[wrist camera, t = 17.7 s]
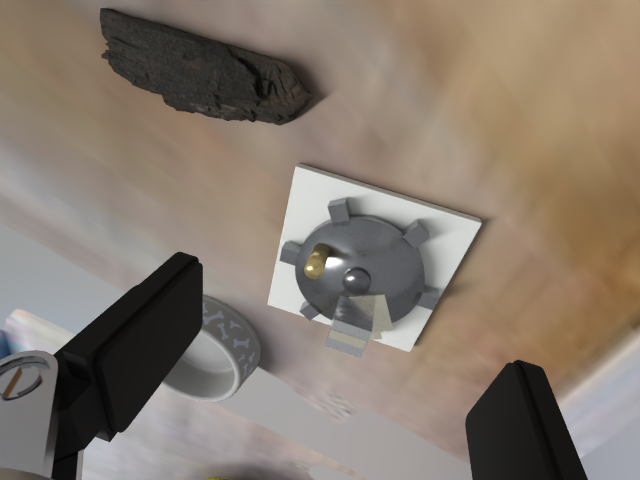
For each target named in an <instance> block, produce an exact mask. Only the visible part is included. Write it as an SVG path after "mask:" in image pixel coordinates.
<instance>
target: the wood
mask: <svg viewBox="0 0 640 480" xmlns="http://www.w3.org/2000/svg"><path fill="white" fill-rule="evenodd" d="M100 22H101V29H102V35H103V36H104V38H105V39H106V40H107V41H108V43H106V45H107V46H108V47H109V49H110V50H105V53H103V54H101V55H102V58H105V59H107V60H108V61H109V65H110V66H111V67H112V69H113V70H114V72H116V73H117V74H119V75H121V76H122V77H124V78H125V79H127V80H128V81H130V82H131V83H132V85H134V86H136V87H139V88H141V89H144V90H147V91H150V92H152V93H156V94H161V95H162V97H163V99H164V102H165V103H166V104H167V105H169V106H171V107H173V108H175V109H176V111H187V112H190V113H194V112H197V113H201V114H203V115H206V116H208V117H214V118H220V119H221V118H222V119H224V120H227V121H230V120H240V121H242V120H244V119H247V120H249V121H251V122H254V121H255V120H258V121H262V122H267V123H274V124H276V125H282V124H285V123H288V122H290V121H292V120H293V119H295V118H296V117H297V115H298V114H300V111H301V110H302V109H303V108H304V107H305V106H306V104H307V103H308V102H309V100H311V99H312V98H313V97H312V96H311V94H310V93H309V91H306V90H305V89H304V88H302V85H301V82H300V81H299V80H298V79H297V78H296V75H295V74H294V72H293V70H292V69H291V68H290V67H289V66H287V65H286V64H284V63H282V62H280V61H277V60H274V59H271V58H270V57H267V56H263V55H260V54H256V53H252V52H248V51H246V50H244V49H239V48H236V47H233V46H231V45H226V44H223V43H220V42H214V41H211V40H210V39H203V38H201V37H198V36H195V35H191V34H189V33H187V32H183V31H181V30H177V29H172V28H170V27H168V26H165V25H159V24H157V23H154V22H151V21H147V20H142V19H136V18H133V17H130V16H127V15H124V14H120V13H118V12H116V11H114V10H112V9H108V8H101V10H100Z"/></svg>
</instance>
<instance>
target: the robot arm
mask: <svg viewBox="0 0 640 480" xmlns="http://www.w3.org/2000/svg"><path fill="white" fill-rule="evenodd" d="M202 323H203V266H202V264H201V263H199V260H198V258H197V257H195V256H192V255H189V254H186V253H183V252H177V253H175V254H174V255H173V256H172V257H171V258H170V259H168V260H167V261H166V262H165V263H164V264H163V265H161V266H160V267H159V268H158V269H157V270H156V271H154V272H153V273H152V274H151V275H150V276H149V277H147V278H146V279H145V280H144V281H143V282H142V283H140V284H139V285H136V286H135V287H133V288H132V289H130V290H129V291H128V292H127V293H126V294H124V295H123V296H122V297H121V298H120V299H119V300H117V301H116V302H115V303H114V304H113V305H111V306H110V307H109V308H108V309H107V310H106V311H104V312H103V313H102V314H101V315H100V316H98V317H97V318H96V319H95V320H94V321H93V322H91V323H90V324H89V325H88V326H87V327H86V328H84V329H83V330H82V331H81V332H80V333H78V334H77V335H76V336H75V337H74V338H73V339H71V340H70V341H69V342H68V343H67V344H65V345H64V346H63V347H62V348H61V349H60V350H58V351H57V352H56V353H55V354H54V355H52V354H50V353H48V352H45V351H37V350H34V351H24V352H20V353H17V354H13V355H10V356H8V357H6V358H4V359H2V360H0V480H82V467H83V453H84V449H85V448H86V447H87V446H88V444H89V443H90V442H91V441H92V440H93V438H94V437H97V438H100V439H103V440H105V441H108V442H110V441H111V440H112V439H113V437H114V436H115V435H116V434H117V432H119V433H121V432H123V431H125V430H126V429H127V428H128V426H129V425H130V424H131V422H132V421H133V420H134V419H135V417H136V416H137V415H138V413H139V412H140V411H141V409H142V408H143V407H144V405H145V404H146V403H147V401H148V400H149V399H150V397H151V396H152V395H153V393H154V392H155V391H156V389H157V388H158V387H159V385H160V384H161V383H162V381H163V380H164V379H165V378H166V376H167V375H168V374H169V372H170V371H171V370H172V368H173V367H174V366H175V364H176V363H177V362H178V360H179V359H180V358H181V356H182V355H183V354H184V352H185V351H186V350H187V348H188V347H189V346H190V344H191V343H192V342H193V340H194V339H195V338H196V336H197V335H198V334H199V332H200V330H201V328H202ZM465 425H466V434H467V441H468V449H469V456H470V463H471V471H472V478H473V480H588V479H587V476H586V474H585V471H584V469H583V466H582V464H581V461H580V459H579V456H578V454H577V451H576V449H575V446H574V444H573V441H572V439H571V436H570V434H569V431H568V429H567V426H566V424H565V421H564V419H563V416H562V414H561V411H560V409H559V406H558V404H557V402H556V399H555V397H554V394H553V392H552V389H551V387H550V384H549V382H548V379H547V377H546V374H545V372H544V370H543V369H542V368H541V367H540V366H537V365H534V364H531V363H527V362H524V361H521V360H516V361H514V362H513V363H507V364H506V365H505V367H504V368H503V369H502V371H501V372H500V373H499V374H498V376H497V377H496V378H495V380H494V381H493V382H492V383H491V385H490V386H489V387H488V389H487V390H486V391H485V392H484V394H483V395H482V396H481V398H480V399H479V400H478V401H477V403H476V404H475V405H474V407H473V408H472V409H471V410H470V412H469V413H468V415H467V417H466V424H465Z"/></svg>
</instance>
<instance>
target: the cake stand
mask: <svg viewBox="0 0 640 480" xmlns="http://www.w3.org/2000/svg"><path fill="white" fill-rule="evenodd" d="M205 480H226V479H222V478H207V479H205Z"/></svg>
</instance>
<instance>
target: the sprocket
mask: <svg viewBox="0 0 640 480" xmlns="http://www.w3.org/2000/svg"><path fill="white" fill-rule="evenodd" d="M327 207H328V211H329V214H330V217H331V219H329V220H327V221H325V222H323V223H321V224H320V225H319V226H317V227H316V228H315V229H314V230H313V231H311V232H310V234H309V235H308V236H307V237H306V239H305V241H304V242H303V244H302V246H300V245H297V244H294V243H291V242H287V241H286V242H285V244H284V245H283V247H282V250H281V255H280V260H279V261H281V262H284V263H288V264H291V265H294V266H295V276H296V281H297V284H298V287H299V289H300V291H301V293H302V295H303V297H304V298H305V299H306V301H305V302H304V303H302V306H301V308H300V311H299V312H300V313H302V314H303V315H304V316H305V317H306V318H307V319H308V320H312V319H313V318H315V317H316V316H318V315H319V314H321V315H323V316H324V317H326V318H328V319H330V320H332V318H333V315H334V312H335V309H336V306H337V304H338V301H339V298H340V295H341V296H344V297H347V298H350V299H353V300H356V301H359V302H362V303H365V304H368V305H371V306H374V307H375V309H374V318H373V328H372V333H371V335H370V338H369V340H374V339H382V333H383V330H393V325H392V323H394V322H396V321H398V320H400V319H401V318H403V317H405V316H406V315H407V314H408V313H410V312H411V311H412V310H413V308H414V307H415V306H416V305H418V306H421V307H424V308H427V309H430V310H434V308H435V306H436V304H437V302H438V301H439V299H440V296H439V290H438V289H435V288H432V287H429V286H426V285H424V284H425V273H424V265H423V260H422V257H421V254H420V251H419V249H418V248H417V247H418V246H419V245H421V244H422V243H424V242H425V241H427V240H428V239H430V236H429V231H428V230H427V229H426V228H425V227H424V226H423V225H422V224H421V223H420V221H419V220H418V219H416V220H415V221H413V222H412V223H411V224H409V225H408V226H407V227H405V228H404V229H403V230H402V229H400V228H399V227H398V226H396V225H394V224H392V223H391V222H389V221H386V220H384V219H382V218H378V217H375V216H370V215H364V214H351V210H350V207H349V203H348V199H347V198H342V199H337V200H332V201H330V202H329V204H328V206H327Z"/></svg>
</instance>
